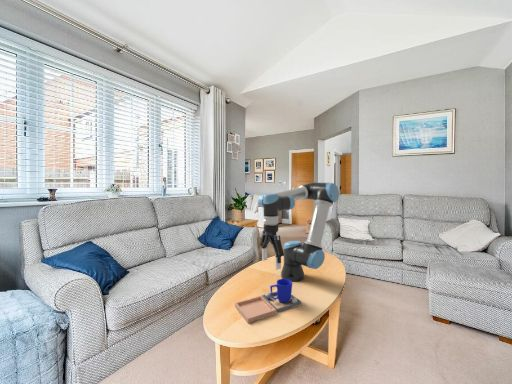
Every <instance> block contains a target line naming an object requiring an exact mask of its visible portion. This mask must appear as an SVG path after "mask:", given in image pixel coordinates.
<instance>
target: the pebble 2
mask: <svg viewBox="0 0 512 384" xmlns="http://www.w3.org/2000/svg"><path fill="white" fill-rule="evenodd" d="M296 298H297V297H296ZM296 298H291V304H293V303H296V302H298V300H297V299H298V298H297V299H296Z"/></svg>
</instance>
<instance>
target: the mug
mask: <svg viewBox="0 0 512 384" xmlns="http://www.w3.org/2000/svg"><path fill="white" fill-rule="evenodd" d="M269 287H270V293H271V298H272V300H274V301H276V300H278V301H279V302H280V303H282V304H288V303H290V302H291V301H292V298H291V294H292V292H293V281H291V280H288V279H283V278H280V279H277V280H276V284H272V285H270V286H269ZM274 287H276V289H277V290H276V291H277V295H276V297H275V296H274V295H273V294H272V293H273V288H274Z"/></svg>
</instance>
